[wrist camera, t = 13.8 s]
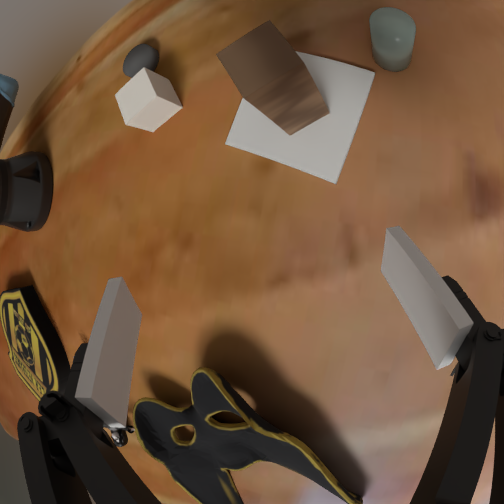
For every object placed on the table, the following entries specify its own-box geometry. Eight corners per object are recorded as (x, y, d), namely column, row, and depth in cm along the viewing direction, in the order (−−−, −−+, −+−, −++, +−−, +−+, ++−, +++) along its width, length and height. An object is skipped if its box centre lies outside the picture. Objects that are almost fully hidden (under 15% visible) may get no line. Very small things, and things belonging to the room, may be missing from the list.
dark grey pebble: (127, 79, 35) (118, 75, 34) (140, 48, 34) (131, 44, 32) (151, 81, 34) (141, 77, 32) (165, 49, 33) (156, 43, 31)
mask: (134, 398, 42) (244, 515, 40) (108, 417, 37) (230, 538, 34) (246, 335, 33) (372, 490, 30) (221, 361, 27) (367, 523, 24)
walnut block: (290, 135, 28) (244, 98, 18) (268, 100, 28) (216, 54, 18) (329, 113, 26) (303, 62, 16) (306, 78, 26) (269, 20, 16)
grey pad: (227, 144, 31) (225, 143, 30) (266, 47, 28) (264, 45, 27) (336, 184, 27) (335, 183, 27) (375, 74, 24) (375, 72, 24)
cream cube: (153, 132, 34) (125, 124, 30) (141, 104, 35) (115, 94, 30) (183, 107, 32) (156, 96, 28) (169, 80, 33) (143, 67, 28)
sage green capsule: (368, 63, 24) (364, 33, 19) (377, 34, 23) (374, 2, 18) (406, 77, 23) (411, 48, 18) (414, 47, 22) (419, 16, 16)
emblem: (55, 325, 43) (66, 430, 50) (71, 320, 46) (77, 423, 54) (-4, 261, 52) (6, 360, 60) (9, 258, 56) (16, 356, 63)
